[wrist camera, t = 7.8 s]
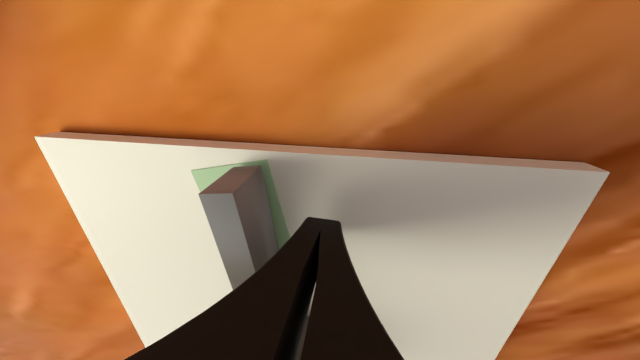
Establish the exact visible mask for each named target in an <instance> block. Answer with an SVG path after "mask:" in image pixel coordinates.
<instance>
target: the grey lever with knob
mask: <svg viewBox="0 0 640 360" xmlns="http://www.w3.org/2000/svg"><path fill="white" fill-rule="evenodd" d="M199 197H200V200H201V203H202V206H203V208H204V211H205V214H206V217H207V219H208V222H209V225H210V228H211V231H212V233H213V236H214V239H215V242H216V245H217V247H218V250H219V253H220V256H221V258H222V261H223V264H224V267H225V270H226V272H227V275H228V278H229V281H230V283H231V286H232V289H233V290H234V289H235V288H237V287H238V286H239V285H240V284H242V283H243V282H244V281H245V280H247V279H248V278H249V277H250V276H251V275H253V274H254V273H255V272H256V271H257V270H258V269H259V268H261V267H262V266H263V265H264V264H265V263H266V262H267V261H268V260H269V259H270V258H271V257H272V256H273V255H274V254H275V253H276V252H277V251H278V250H279V247H278V243H277V238H276V234H275V229H274V224H273V220H272V215H271V211H270V206H269V201H268V197H267V192H266V188H265V183H264V179H263V174H262V169H261V166H239V167H233V168H231V169H230V170H229V171H227V172H226V173H225V174H224V175H222V176H221V177H220V178H218V179H217V180H216V181H215V182H213V183H212V184H211V185H209V186H208V187H207V188H206V189H204V190H203V191H202V192H200V193H199ZM308 320H309V317H308V316H307V317H306V321H305V324H304V328H303V332H302V335H301V339H300V343H299V347H298V352H297V356H296V360H300V358H301V353H302V349H303V344H304V340H305V335H306V330H307V325H308Z"/></svg>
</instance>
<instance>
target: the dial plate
mask: <svg viewBox="0 0 640 360" xmlns="http://www.w3.org/2000/svg"><path fill="white" fill-rule="evenodd" d="M34 137H35V139H36V141H37V143H38V145H39V147H40V149H41V151H42V152H43V154H44V156H45V158H46V160H47V162H48V164H49V166H50V168H51V169H52V171H53V173H54V175H55V177H56V179H57V181H58V183H59V185H60V186H61V188H62V190H63V192H64V194H65V196H66V198H67V200H68V202H69V204H70V205H71V207H72V209H73V211H74V213H75V215H76V217H77V219H78V221H79V222H80V224H81V226H82V228H83V230H84V232H85V234H86V236H87V238H88V239H89V241H90V243H91V245H92V247H93V249H94V251H95V253H96V255H97V257H98V258H99V260H100V262H101V264H102V266H103V268H104V270H105V272H106V274H107V275H108V277H109V279H110V281H111V283H112V285H113V287H114V289H115V291H116V292H117V294H118V296H119V298H120V300H121V302H122V304H123V306H124V308H125V310H126V311H127V313H128V315H129V317H130V319H131V321H132V323H133V325H134V327H135V328H136V330H137V332H138V334H139V336H140V338H141V340H142V342H143V344H144V345H145V347H148V346H150V345H151V344H153V343H155V342H156V341H158V340H160V339H161V338H163V337H165V336H166V335H168V334H169V333H171V332H172V331H174V330H176V329H177V328H179V327H180V326H182V325H183V324H185V323H187V322H188V321H190V320H191V319H193V318H194V317H196V316H198V315H199V314H201V313H202V312H204V311H205V310H207V309H208V308H209V307H211V306H212V305H214V304H215V303H217V302H218V301H219V300H221V299H222V298H223V297H225V296H226V295H227V294H229V293H230V292H231V291H233V289H232V286H231V283H230V281H229V278H228V275H227V272H226V270H225V267H224V264H223V261H222V258H221V256H220V253H219V250H218V247H217V245H216V242H215V239H214V236H213V233H212V231H211V228H210V225H209V222H208V219H207V217H206V214H205V211H204V208H203V206H202V203H201V200H200V197H199V193H200V192H202V191H203V190H204V189H206V188H207V187H208V186H209V185H211V184H212V183H213V182H215V181H216V180H217V179H218V178H220V177H221V176H222V175H224V174H225V173H226V172H227V171H229V170H230V169H231V168H233V167H239V166H261V169H262V174H263V179H264V183H265V188H266V192H267V197H268V201H269V206H270V211H271V215H272V220H273V224H274V229H275V234H276V238H277V243H278V247H279V249H280V248H281V247H282V246H283V245H284V244H285V243H286V242H287V241H288V240H289V239H290V238H291V236H292V235H293V234H294V233H295V232H296V231H297V229H298V228H299V227H300V226H301V224H302V223H303V222H304V220H305V219H306V218H307V217H315V218H322V219H329V220H336V221H339V222H340V223H341V227H342V233H343V237H344V241H345V244H346V248H347V251H348V253H349V256H350V259H351V262H352V264H353V267H354V269H355V272H356V274H357V276H358V279H359V281H360V283H361V285H362V287H363V289H364V291H365V294H366V296H367V298H368V299H369V301H370V303H371V305H372V307H373V309H374V311H375V313H376V314H377V316H378V318H379V320H380V321H381V323H382V325H383V327H384V328H385V330H386V332H387V333H388V335H389V337H390V338H391V340H392V341H393V343H394V344H395V346H396V347H397V349H398V351H399V352H400V354H401V355H402V357H403V358H404V360H495V358H496V357H497V355H498V353H499V352H500V350H501V348H502V347H503V345H504V344H505V342H506V340H507V339H508V337H509V335H510V334H511V332H512V331H513V329H514V327H515V326H516V324H517V322H518V321H519V319H520V318H521V316H522V314H523V313H524V311H525V310H526V308H527V306H528V305H529V303H530V301H531V300H532V298H533V297H534V295H535V293H536V292H537V290H538V288H539V287H540V285H541V284H542V282H543V280H544V279H545V277H546V275H547V274H548V272H549V271H550V269H551V267H552V266H553V264H554V263H555V261H556V259H557V258H558V256H559V254H560V253H561V251H562V250H563V248H564V246H565V245H566V243H567V241H568V240H569V238H570V237H571V235H572V233H573V232H574V230H575V228H576V227H577V225H578V224H579V222H580V220H581V219H582V217H583V216H584V214H585V212H586V211H587V209H588V207H589V206H590V204H591V203H592V201H593V199H594V198H595V196H596V194H597V193H598V191H599V190H600V188H601V186H602V185H603V183H604V182H605V180H606V178H607V177H608V175H609V173H610V172H608V171H605V170H603V169H600V168H598V167H595V166H593V165H590V164H587V163H585V162H570V161H553V160H536V159H518V158H501V157H484V156H467V155H450V154H433V153H416V152H399V151H381V150H364V149H347V148H330V147H313V146H296V145H279V144H262V143H244V142H227V141H210V140H193V139H176V138H159V137H142V136H125V135H107V134H90V133H73V132H55V133H49V134H44V135H39V136H34ZM315 286H316V283H315ZM314 291H315V287H314ZM314 291H313V295H312V298H311V302H310V306H309V309H308V313H307V316H308V317H309V316H310V311H311V306H312V301H313V296H314Z"/></svg>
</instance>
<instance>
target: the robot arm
mask: <svg viewBox="0 0 640 360" xmlns="http://www.w3.org/2000/svg"><path fill="white" fill-rule="evenodd" d="M315 283H316V286H315ZM314 287H315V291H314ZM313 291H314V296H313V301H312V306H311V311H310V316H309V320H308V325H307V330H306V335H305V340H304V344H303V349H302V353H301V358H300V360H404V358H403V357H402V355H401V354H400V352H399V351H398V349H397V347H396V346H395V344H394V343H393V341H392V340H391V338H390V337H389V335H388V333H387V332H386V330H385V328H384V327H383V325H382V323H381V321H380V320H379V318H378V316H377V314H376V313H375V311H374V309H373V307H372V305H371V303H370V301H369V299H368V298H367V296H366V294H365V291H364V289H363V287H362V285H361V283H360V281H359V279H358V276H357V274H356V272H355V269H354V267H353V264H352V262H351V259H350V256H349V253H348V251H347V248H346V244H345V241H344V237H343V233H342V227H341V223H340V222H339V221H336V220H329V219H322V218H315V217H307V218H306V219H305V220H304V222H303V223H302V224H301V226H300V227H299V228H298V229H297V231H296V232H295V233H294V234H293V235H292V236H291V238H290V239H289V240H288V241H287V242H286V243H285V244H284V245H283V246H282V247H281V248H280V249H279V250H278V251H277V252H276V253H275V254H274V255H273V256H272V257H271V258H270V259H269V260H268V261H267V262H266V263H265V264H264V265H263V266H262V267H261V268H259V269H258V270H257V271H256V272H255V273H254V274H253V275H251V276H250V277H249V278H248V279H247V280H245V281H244V282H243V283H242V284H240V285H239V286H238V287H237V288H235V289H234V290H233V291H231V292H230V293H229V294H227V295H226V296H225V297H223V298H222V299H221V300H219V301H218V302H217V303H215V304H214V305H212V306H211V307H209V308H208V309H207V310H205V311H204V312H202V313H201V314H199V315H198V316H196V317H194V318H193V319H191V320H190V321H188V322H187V323H185V324H183V325H182V326H180V327H179V328H177V329H176V330H174V331H172V332H171V333H169V334H168V335H166V336H165V337H163V338H161V339H160V340H158V341H156V342H155V343H153V344H151V345H150V346H148V347H146V348H144V349H143V350H141V351H139V352H137V353H135V354H134V355H132V356H130V357H128V358H127V359H125V360H296V356H297V352H298V347H299V343H300V339H301V335H302V332H303V328H304V324H305V321H306V317H307V313H308V309H309V306H310V302H311V298H312V295H313Z"/></svg>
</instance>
